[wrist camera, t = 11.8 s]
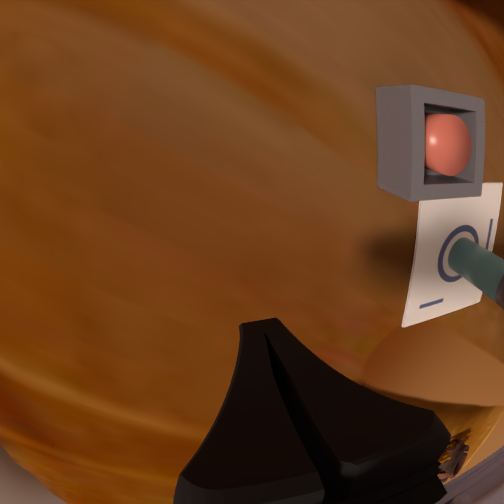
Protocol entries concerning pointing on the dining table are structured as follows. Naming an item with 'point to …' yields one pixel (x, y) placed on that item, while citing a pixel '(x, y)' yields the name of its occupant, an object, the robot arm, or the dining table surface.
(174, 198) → the dining table surface
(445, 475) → the brown black arched piece
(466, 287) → the paper sheet
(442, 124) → the button
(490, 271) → the marker
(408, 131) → the button housing
